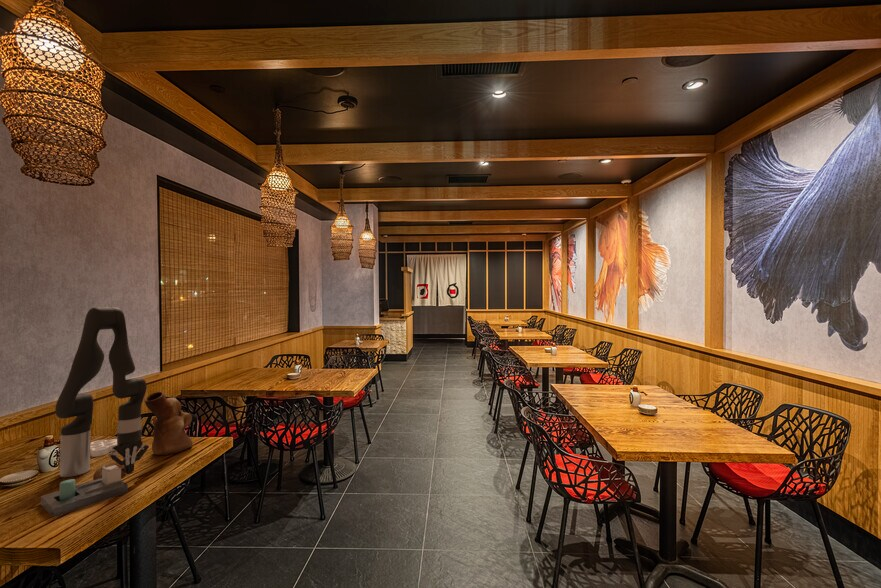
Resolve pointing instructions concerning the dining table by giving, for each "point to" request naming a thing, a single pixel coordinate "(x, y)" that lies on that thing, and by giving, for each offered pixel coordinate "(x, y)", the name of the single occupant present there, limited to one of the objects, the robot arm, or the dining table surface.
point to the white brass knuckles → (102, 447)
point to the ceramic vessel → (168, 424)
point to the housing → (82, 496)
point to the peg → (67, 489)
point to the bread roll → (99, 471)
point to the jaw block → (111, 474)
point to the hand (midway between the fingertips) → (128, 473)
